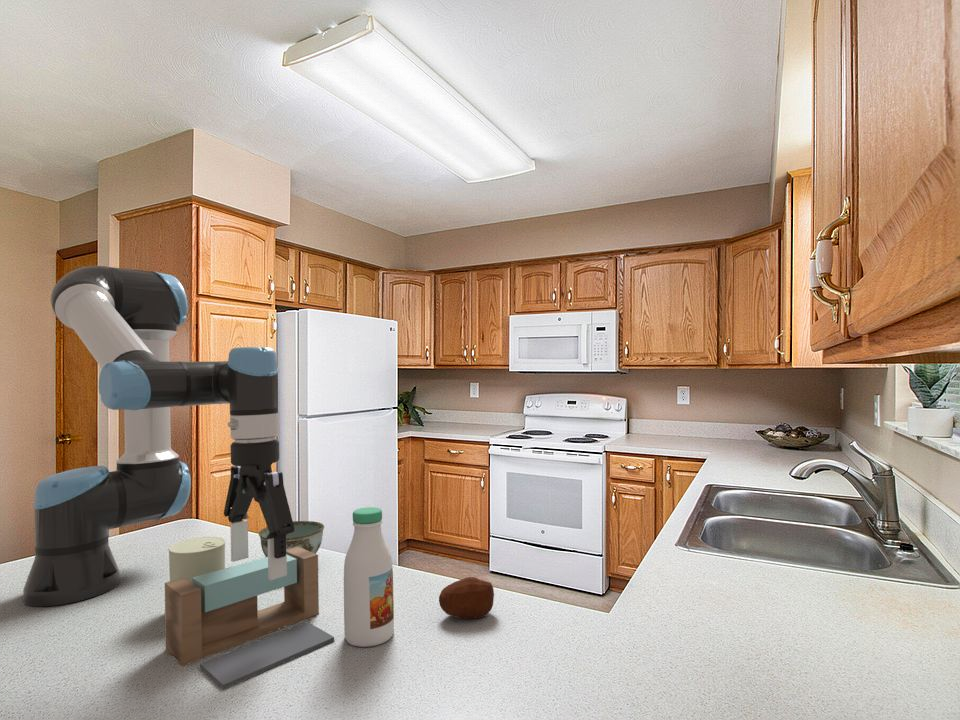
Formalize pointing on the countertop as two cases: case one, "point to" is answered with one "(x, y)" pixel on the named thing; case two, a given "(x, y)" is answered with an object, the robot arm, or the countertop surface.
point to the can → (196, 557)
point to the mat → (265, 654)
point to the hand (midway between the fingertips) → (257, 568)
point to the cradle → (235, 614)
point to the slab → (241, 583)
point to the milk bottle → (368, 582)
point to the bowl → (298, 536)
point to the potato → (467, 598)
